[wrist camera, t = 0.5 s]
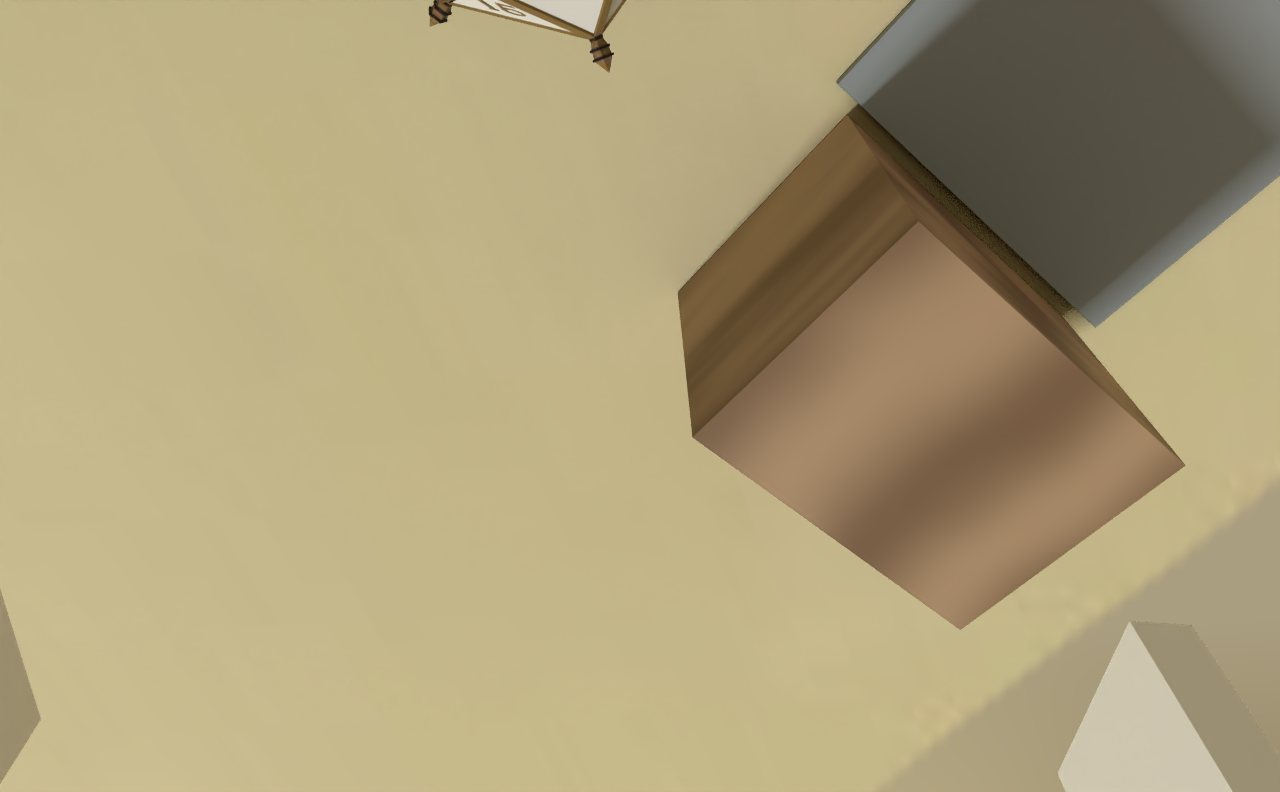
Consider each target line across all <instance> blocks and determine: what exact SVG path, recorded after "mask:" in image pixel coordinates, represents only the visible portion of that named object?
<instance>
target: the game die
mask: <svg viewBox="0 0 1280 792" xmlns="http://www.w3.org/2000/svg"><path fill="white" fill-rule="evenodd" d="M625 1H626V0H434V5H433V6H432V7H431V6H430V7H429V15H430V26H433V25H435V24H438V23H444V22H447V21H448V20H447V19H446V18H447V17H448V15H451V14H452V13H451V7H452V5H453V6H457V7H461V8H465V9H469V10H473V11H477V12H481V13H485V14H489V15H493V16H497V17H501V18H505V19H509V20H513V21H517V22H521V23H525V24H529V25H533V26H537V27H541V28H545V29H549V30H553V31H557V32H561V33H565V34H569V35H573V36H577V37H581V38H585V39H589V40H590V42H591V51H590V53H592V54H593V57H594V60H593V63H594V62H596V63H597V64H599V65H600V66H601V67H602V68H604V69H605V70H606V71H607V72H610V66H611V59H612V55H614V53H611V51H610V48H609V46H610V44H607V43H606V41H605V40H604V38H603V35H602V34H603V32H604V31H605V30H606V28H607V27H608V25H609V24H610V22H611V21H612V20H613V18H614V17H615V15H616V14H617V13H618V11H619V10H620V8H621V7H622V5H623V4H624V3H625Z"/></svg>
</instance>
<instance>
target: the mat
mask: <svg viewBox="0 0 1280 792" xmlns="http://www.w3.org/2000/svg"><path fill="white" fill-rule="evenodd" d="M836 82H837V83H838V85H839V86H841V87H842V88H843V89H844V90H845V91H846V92H847V93H848V94H849V95H850V96H851V97H852V98H853V99H854V100H855V101H856V102H857V103H859V104H860V105H861V106H862V107H863V108H864V109H865V110H866V111H867V112H868V113H869V114H870V115H871V116H872V117H873V118H874V119H875V120H876V121H878V122H879V123H880V124H881V125H882V126H883V127H884V128H885V129H886V130H887V131H888V132H889V133H890V134H891V135H892V136H893V137H894V138H896V139H897V140H898V141H899V142H900V143H901V144H902V145H903V146H904V147H905V148H906V149H907V150H908V151H909V152H910V153H911V154H912V155H914V156H915V157H916V158H917V159H918V160H919V161H920V162H921V163H922V164H923V165H924V166H925V167H926V168H927V169H928V170H929V171H930V172H931V173H933V174H934V175H935V176H936V177H937V178H938V179H939V180H940V181H941V182H942V183H943V184H944V185H945V186H946V187H947V188H948V189H949V190H951V191H952V192H953V193H954V194H955V195H956V196H957V197H958V198H959V199H960V200H961V201H962V202H963V203H964V204H965V205H966V206H967V207H968V208H970V209H971V210H972V211H973V212H974V213H975V214H976V215H977V216H978V217H979V218H980V219H981V220H982V221H983V222H984V223H985V224H986V225H988V226H989V227H990V228H991V229H992V230H993V231H994V232H995V233H996V234H997V235H998V236H999V237H1000V238H1001V239H1002V240H1003V241H1004V242H1005V243H1007V244H1008V245H1009V246H1010V247H1011V248H1012V249H1013V250H1014V251H1015V252H1016V253H1017V254H1018V255H1019V256H1020V257H1021V258H1022V259H1023V260H1025V261H1026V262H1027V263H1028V264H1029V265H1030V266H1031V267H1032V268H1033V269H1034V270H1035V271H1036V272H1037V273H1038V274H1039V275H1040V276H1041V277H1042V278H1044V279H1045V280H1046V281H1047V282H1048V283H1049V284H1050V285H1051V286H1052V287H1053V288H1054V289H1055V290H1056V291H1057V292H1058V293H1059V294H1060V295H1062V296H1063V297H1064V298H1065V299H1066V300H1067V301H1068V302H1069V303H1070V304H1071V305H1072V306H1073V307H1074V308H1075V309H1076V310H1077V311H1078V312H1080V313H1081V314H1082V315H1083V316H1084V317H1085V318H1086V319H1087V320H1088V321H1089V322H1090V323H1091V324H1092V325H1093V326H1094V327H1095V328H1096V327H1097V326H1098V325H1099V324H1101V323H1102V322H1103V321H1104V320H1105V319H1107V318H1108V317H1109V316H1110V315H1112V314H1113V313H1114V312H1115V311H1116V310H1118V309H1119V308H1120V307H1121V306H1122V305H1124V304H1125V303H1126V302H1127V301H1128V300H1130V299H1131V298H1132V297H1133V296H1135V295H1136V294H1137V293H1138V292H1139V291H1141V290H1142V289H1143V288H1144V287H1145V286H1147V285H1148V284H1149V283H1150V282H1151V281H1153V280H1154V279H1155V278H1156V277H1158V276H1159V275H1160V274H1161V273H1162V272H1164V271H1165V270H1166V269H1167V268H1168V267H1170V266H1171V265H1172V264H1173V263H1174V262H1176V261H1177V260H1178V259H1179V258H1180V257H1182V256H1183V255H1184V254H1185V253H1187V252H1188V251H1189V250H1190V249H1191V248H1193V247H1194V246H1195V245H1196V244H1197V243H1199V242H1200V241H1201V240H1202V239H1203V238H1205V237H1206V236H1207V235H1208V234H1210V233H1211V232H1212V231H1213V230H1214V229H1216V228H1217V227H1218V226H1219V225H1220V224H1222V223H1223V222H1224V221H1225V220H1226V219H1228V218H1229V217H1230V216H1231V215H1233V214H1234V213H1235V212H1236V211H1237V210H1239V209H1240V208H1241V207H1242V206H1243V205H1245V204H1246V203H1247V202H1248V201H1249V200H1251V199H1252V198H1253V197H1254V196H1256V195H1257V194H1258V193H1259V192H1260V191H1262V190H1263V189H1264V188H1265V187H1266V186H1268V185H1269V184H1270V183H1271V182H1272V181H1274V180H1275V179H1276V178H1277V177H1279V176H1280V0H912V1H911V2H910V3H909V4H908V5H907V6H906V7H905V8H904V9H903V11H902V12H901V13H900V14H899V15H898V16H897V17H896V18H895V19H894V20H893V21H892V22H891V23H890V24H889V26H888V27H887V28H886V29H885V30H884V31H883V32H882V33H881V34H880V35H879V36H878V37H877V38H876V40H875V41H874V42H873V43H872V44H871V45H870V46H869V47H868V48H867V49H866V50H865V51H864V52H863V53H862V55H861V56H860V57H859V58H858V59H857V60H856V61H855V62H854V63H853V64H852V65H851V66H850V67H849V68H848V70H847V71H846V72H845V73H844V74H843V75H842V76H841V77H840V78H839V79H838V80H837V81H836Z"/></svg>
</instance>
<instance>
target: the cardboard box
mask: <svg viewBox="0 0 1280 792" xmlns="http://www.w3.org/2000/svg"><path fill="white" fill-rule="evenodd" d="M678 300H679V310H680V319H681V329H682V339H683V349H684V358H685V368H686V378H687V388H688V397H689V407H690V417H691V427H692V436H693V438H694V439H696V440H697V441H698V442H700V443H701V444H703V445H704V446H705V447H707V448H708V449H709V450H711V451H712V452H714V453H715V454H716V455H718V456H719V457H721V458H722V459H723V460H725V461H726V462H728V463H729V464H730V465H732V466H733V467H734V468H736V469H737V470H739V471H740V472H741V473H743V474H744V475H746V476H747V477H748V478H750V479H751V480H753V481H754V482H755V483H757V484H758V485H760V486H761V487H762V488H764V489H765V490H766V491H768V492H769V493H771V494H772V495H773V496H775V497H776V498H778V499H779V500H780V501H782V502H783V503H785V504H786V505H787V506H789V507H790V508H792V509H793V510H794V511H796V512H797V513H798V514H800V515H801V516H803V517H804V518H805V519H807V520H808V521H810V522H811V523H812V524H814V525H815V526H817V527H818V528H819V529H821V530H822V531H824V532H825V533H826V534H828V535H829V536H830V537H832V538H833V539H835V540H836V541H837V542H839V543H840V544H842V545H843V546H844V547H846V548H847V549H849V550H850V551H851V552H853V553H854V554H856V555H857V556H858V557H860V558H861V559H862V560H864V561H865V562H867V563H868V564H869V565H871V566H872V567H874V568H875V569H876V570H878V571H879V572H881V573H882V574H883V575H885V576H886V577H888V578H889V579H890V580H892V581H893V582H894V583H896V584H897V585H899V586H900V587H901V588H903V589H904V590H906V591H907V592H908V593H910V594H911V595H913V596H914V597H915V598H917V599H918V600H919V601H921V602H922V603H924V604H925V605H926V606H928V607H929V608H931V609H932V610H933V611H935V612H936V613H938V614H939V615H940V616H942V617H943V618H945V619H946V620H947V621H949V622H950V623H951V624H953V625H954V626H956V627H957V628H958V629H960V630H961V629H962V628H964V627H965V626H966V625H968V624H969V623H970V622H972V621H973V620H975V619H976V618H977V617H979V616H980V615H981V614H983V613H984V612H986V611H987V610H988V609H990V608H991V607H992V606H994V605H995V604H997V603H998V602H999V601H1001V600H1002V599H1003V598H1005V597H1006V596H1007V595H1009V594H1010V593H1012V592H1013V591H1014V590H1016V589H1017V588H1018V587H1020V586H1021V585H1023V584H1024V583H1025V582H1027V581H1028V580H1029V579H1031V578H1032V577H1033V576H1035V575H1036V574H1038V573H1039V572H1040V571H1042V570H1043V569H1044V568H1046V567H1047V566H1049V565H1050V564H1051V563H1053V562H1054V561H1055V560H1057V559H1058V558H1059V557H1061V556H1062V555H1064V554H1065V553H1066V552H1068V551H1069V550H1070V549H1072V548H1073V547H1075V546H1076V545H1077V544H1079V543H1080V542H1081V541H1083V540H1084V539H1085V538H1087V537H1088V536H1090V535H1091V534H1092V533H1094V532H1095V531H1096V530H1098V529H1099V528H1101V527H1102V526H1103V525H1105V524H1106V523H1107V522H1109V521H1110V520H1111V519H1113V518H1114V517H1116V516H1117V515H1118V514H1120V513H1121V512H1122V511H1124V510H1125V509H1127V508H1128V507H1129V506H1131V505H1132V504H1133V503H1135V502H1136V501H1137V500H1139V499H1140V498H1142V497H1143V496H1144V495H1146V494H1147V493H1148V492H1150V491H1151V490H1153V489H1154V488H1155V487H1157V486H1158V485H1159V484H1161V483H1162V482H1164V481H1165V480H1166V479H1168V478H1169V477H1170V476H1172V475H1173V474H1174V473H1176V472H1177V471H1179V470H1180V469H1181V468H1183V467H1184V466H1185V464H1184V463H1183V462H1182V461H1181V459H1180V458H1179V457H1178V456H1177V454H1176V453H1175V452H1174V451H1173V450H1172V448H1171V447H1170V446H1169V445H1168V444H1167V442H1166V441H1165V440H1164V439H1163V438H1162V436H1161V435H1160V434H1159V433H1158V431H1157V430H1156V429H1155V428H1154V427H1153V425H1152V424H1151V423H1150V422H1149V421H1148V419H1147V418H1146V417H1145V416H1144V415H1143V413H1142V412H1141V411H1140V410H1139V408H1138V407H1137V406H1136V405H1135V404H1134V402H1133V401H1132V400H1131V399H1130V398H1129V396H1128V395H1127V394H1126V393H1125V391H1124V390H1123V389H1122V388H1121V387H1120V385H1119V384H1118V383H1117V382H1116V381H1115V379H1114V378H1113V377H1112V376H1111V375H1110V373H1109V372H1108V371H1107V370H1106V368H1105V367H1104V366H1103V365H1102V364H1101V362H1100V361H1099V360H1098V359H1097V358H1096V356H1095V355H1094V354H1093V353H1092V351H1091V350H1090V349H1089V348H1088V347H1087V345H1086V344H1085V343H1084V342H1083V341H1082V339H1081V338H1080V337H1079V336H1078V335H1077V333H1076V332H1075V331H1074V330H1073V328H1072V327H1071V326H1070V325H1069V324H1068V322H1067V321H1066V320H1065V319H1064V318H1063V317H1062V316H1061V315H1060V314H1059V313H1058V312H1057V311H1056V310H1055V309H1054V308H1053V307H1052V306H1051V305H1050V304H1049V303H1047V302H1046V301H1045V300H1044V299H1043V298H1042V297H1041V296H1040V295H1039V294H1038V293H1037V292H1036V291H1035V290H1034V289H1033V288H1031V287H1030V286H1029V285H1028V284H1027V283H1026V282H1025V281H1024V280H1023V279H1022V278H1021V277H1020V276H1019V275H1018V274H1016V273H1015V272H1014V271H1013V270H1012V269H1011V268H1010V267H1009V266H1008V265H1007V264H1006V263H1005V262H1004V261H1003V260H1001V259H1000V258H999V257H998V256H997V255H996V254H995V253H994V252H993V251H992V250H991V249H990V248H989V247H988V246H986V245H985V244H984V243H983V242H982V241H981V240H980V239H979V238H978V237H977V236H976V235H975V234H974V233H973V232H972V231H970V230H969V229H968V228H967V227H966V226H965V225H964V224H963V223H962V222H961V221H960V220H959V219H958V218H957V217H955V216H954V215H953V214H952V213H951V212H950V211H949V210H948V209H947V208H946V207H945V206H944V205H943V204H942V203H940V202H939V201H938V200H937V199H936V198H935V197H934V196H933V195H932V194H931V193H930V192H929V191H928V190H927V189H926V188H924V187H923V186H922V185H921V184H920V183H919V182H918V181H917V180H916V179H915V178H914V177H913V176H912V175H911V174H909V173H908V172H907V171H906V170H905V169H904V168H903V167H902V166H901V165H900V164H899V163H898V162H897V161H896V160H894V159H893V158H892V157H891V156H890V155H889V154H888V153H887V152H886V151H885V150H884V149H883V148H882V147H881V146H879V145H878V144H877V143H876V142H875V141H874V140H873V139H872V138H871V137H870V136H869V135H868V134H867V133H866V132H865V131H863V130H862V129H861V128H860V127H859V126H858V125H857V124H856V123H855V122H854V121H853V120H852V119H851V118H850V117H848V116H847V115H846V116H845V117H844V119H843V120H842V121H841V122H840V123H839V124H838V125H837V126H836V127H835V128H834V129H833V130H832V131H831V132H830V133H829V134H828V135H827V136H826V137H825V138H824V140H823V141H822V142H821V143H820V144H819V145H818V146H817V147H816V148H815V149H814V150H813V151H812V152H811V153H810V154H809V155H808V156H807V157H806V158H805V159H804V160H803V162H802V163H801V164H800V165H799V166H798V167H797V168H796V169H795V170H794V171H793V172H792V173H791V174H790V175H789V176H788V177H787V178H786V179H785V180H784V181H783V183H782V184H781V185H780V186H779V187H778V188H777V189H776V190H775V191H774V192H773V193H772V194H771V195H770V196H769V197H768V198H767V199H766V200H765V201H764V202H763V204H762V205H761V206H760V207H759V208H758V209H757V210H756V211H755V212H754V213H753V214H752V215H751V216H750V217H749V218H748V219H747V220H746V221H745V222H744V223H743V225H742V226H741V227H740V228H739V229H738V230H737V231H736V232H735V233H734V234H733V235H732V236H731V237H730V238H729V239H728V240H727V241H726V242H725V243H724V244H723V246H722V247H721V248H720V249H719V250H718V251H717V252H716V253H715V254H714V255H713V256H712V257H711V258H710V259H709V260H708V261H707V262H706V263H705V264H704V265H703V266H702V268H701V269H700V270H699V271H698V272H697V273H696V274H695V275H694V276H693V277H692V278H691V279H690V280H689V281H688V282H687V283H686V284H685V285H684V286H683V287H682V289H681V290H680V291H679V292H678Z"/></svg>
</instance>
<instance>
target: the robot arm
mask: <svg viewBox="0 0 1280 792" xmlns="http://www.w3.org/2000/svg"><path fill="white" fill-rule="evenodd" d="M40 719H41V718H40V715H39V712H38V709H37V705H36V702H35V699H34V696H33V693H32V689H31V686H30V683H29V680H28V677H27V673H26V670H25V667H24V664H23V661H22V657H21V654H20V651H19V648H18V645H17V641H16V638H15V635H14V632H13V629H12V626H11V622H10V619H9V616H8V613H7V610H6V606H5V603H4V600H3V597H2V594H1V590H0V783H1V782H2V780H3V778H4V777H5V775H6V774H7V772H8V770H9V769H10V767H11V766H12V764H13V762H14V761H15V759H16V758H17V756H18V754H19V753H20V751H21V750H22V748H23V746H24V745H25V743H26V742H27V740H28V738H29V737H30V735H31V734H32V732H33V731H34V729H35V727H36V726H37V724H38V723H39V721H40ZM1058 775H1059V777H1060V780H1061V782H1062V784H1063V787H1064V789H1065V791H1066V792H1280V755H1279V754H1278V752H1277V751H1276V749H1275V748H1274V746H1273V745H1272V743H1271V742H1270V740H1269V739H1268V737H1267V736H1266V734H1265V733H1264V731H1263V730H1262V728H1261V727H1260V725H1259V724H1258V723H1257V721H1256V720H1255V718H1254V717H1253V716H1252V714H1251V713H1250V711H1249V709H1248V708H1247V707H1246V705H1245V703H1244V702H1243V701H1242V699H1241V698H1240V696H1239V694H1238V693H1237V691H1236V690H1235V689H1234V687H1233V686H1232V684H1231V683H1230V681H1229V680H1228V678H1227V677H1226V675H1225V674H1224V672H1223V671H1222V669H1221V668H1220V666H1219V665H1218V663H1217V662H1216V660H1215V659H1214V657H1213V656H1212V654H1211V653H1210V652H1209V650H1208V649H1207V647H1206V646H1205V644H1204V643H1203V641H1202V640H1201V639H1200V637H1199V635H1198V634H1197V632H1196V631H1195V629H1194V628H1193V626H1192V625H1183V624H1167V623H1151V622H1136V621H1129V624H1128V626H1127V628H1126V630H1125V632H1124V634H1123V636H1122V639H1121V641H1120V643H1119V645H1118V647H1117V649H1116V651H1115V653H1114V655H1113V657H1112V659H1111V662H1110V664H1109V667H1108V668H1107V670H1106V672H1105V674H1104V677H1103V679H1102V681H1101V683H1100V685H1099V687H1098V689H1097V691H1096V693H1095V696H1094V698H1093V700H1092V702H1091V704H1090V706H1089V708H1088V710H1087V713H1086V715H1085V717H1084V719H1083V721H1082V723H1081V725H1080V728H1079V730H1078V732H1077V734H1076V736H1075V738H1074V740H1073V742H1072V744H1071V746H1070V749H1069V751H1068V753H1067V755H1066V757H1065V759H1064V761H1063V763H1062V765H1061V768H1060V770H1059V772H1058Z"/></svg>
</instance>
